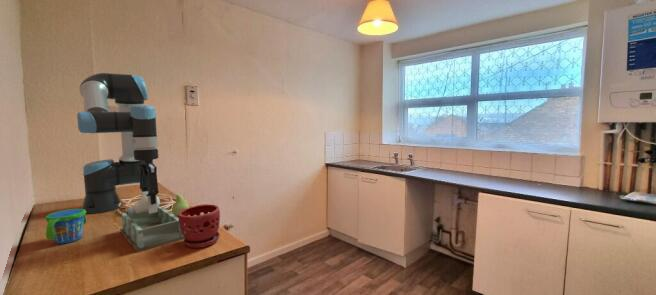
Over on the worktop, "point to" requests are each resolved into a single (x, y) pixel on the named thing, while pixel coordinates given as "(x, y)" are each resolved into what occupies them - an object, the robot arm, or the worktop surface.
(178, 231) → the grey plastic crate
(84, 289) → the worktop surface
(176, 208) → the fruit
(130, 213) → the light bulb
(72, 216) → the blue plastic tub
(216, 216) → the plant pot
